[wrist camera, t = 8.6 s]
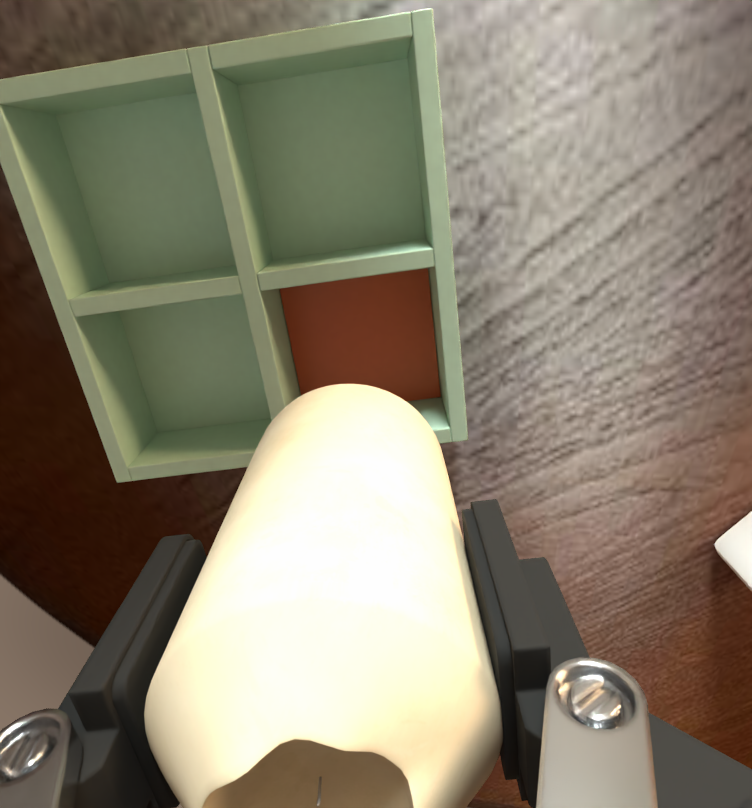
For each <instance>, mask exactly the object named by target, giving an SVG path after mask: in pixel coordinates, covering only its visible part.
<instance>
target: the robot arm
mask: <svg viewBox="0 0 752 808" xmlns="http://www.w3.org/2000/svg"><path fill="white" fill-rule="evenodd" d="M462 520H463V531H464V542H465V551H466V555H467V560H468V564H469V568H470V572H471V577H472V581H473V585H474V590H475V594H476V598H477V603H478V607H479V611H480V616H481V620H482V624H483V629H484V633H485V637H486V642H487V646H488V650H489V655H490V659H491V663H492V668H493V672H494V676H495V681H496V685H497V689H498V694H499V698H500V703H501V713H502V726H503V743H502V746H501V750H500V756H501V761H502V766H503V771H504V775H505V779H506V780H510V779H517V782H518V786H519V790H520V795H521V799H522V801H525V800H528V803H529V805H530V806H531V807H532V808H752V769H750V768H748V767H746V766H745V765H743V764H741V763H739V762H737V761H736V760H734V759H732V758H730V757H728V756H726V755H725V754H723V753H721V752H719V751H717V750H716V749H714V748H712V747H710V746H708V745H707V744H705V743H703V742H701V741H699V740H697V739H696V738H694V737H692V736H690V735H688V734H687V733H685V732H683V731H681V730H679V729H677V728H676V727H674V726H672V725H670V724H668V723H667V722H665V721H663V720H661V719H659V718H657V717H656V716H654V715H652V714H650V713H648V705H647V701H646V698H645V694H644V692H643V690H642V689H641V687H640V686H639V684H638V683H637V681H636V680H635V679H634V678H633V677H632V676H631V675H629V674H628V673H627V672H626V671H625V670H624V669H622V668H620V667H618V666H616V665H614V664H612V663H611V662H607V661H604V660H600V659H597V658H590V657H589V655H588V653H587V650H586V648H585V646H584V643H583V641H582V639H581V637H580V634H579V632H578V630H577V627H576V625H575V623H574V621H573V618H572V616H571V614H570V611H569V609H568V607H567V604H566V602H565V600H564V598H563V595H562V593H561V591H560V588H559V586H558V584H557V582H556V579H555V577H554V575H553V572H552V570H551V568H550V566H549V563H548V562H547V560H546V559H545V558H544V557H542V558H532V559H523V560H519V559H518V556H517V553H516V550H515V548H514V545H513V542H512V539H511V537H510V534H509V531H508V528H507V526H506V523H505V520H504V517H503V515H502V512H501V509H500V506H499V504H498V501H497V500H496V499H493V500H485V501H476V502H471V509H465V510H462ZM206 558H207V557H206V554H205V551H204V548H203V545H202V542H201V541H200V540H194V538H193V537H192V535H190V534H184V535H175V536H166V537H163V538H162V539H161V540H160V541H159V543H158V545H157V546H156V548H155V550H154V551H153V553H152V555H151V556H150V558H149V560H148V561H147V563H146V565H145V566H144V568H143V570H142V571H141V573H140V575H139V576H138V578H137V580H136V581H135V583H134V585H133V586H132V588H131V590H130V591H129V593H128V595H127V596H126V598H125V600H124V601H123V603H122V605H121V606H120V608H119V609H118V610H117V612H116V614H115V615H114V617H113V619H112V620H111V622H110V624H109V625H108V627H107V629H106V630H105V632H104V634H103V635H102V637H101V639H100V640H99V642H98V644H97V645H96V647H95V649H94V650H93V652H92V654H91V656H90V657H89V659H88V660H87V662H86V664H85V665H84V667H83V669H82V670H81V672H80V673H79V675H78V677H77V678H76V680H75V682H74V683H73V685H72V687H71V689H70V690H69V692H68V693H67V695H66V697H65V698H64V700H63V702H62V703H61V705H60V707H59V708H58V709H43V710H39V711H35V712H32V713H29V714H28V715H25V716H23V717H21V718H19V719H17V720H15V721H14V722H12V723H11V724H9V725H8V726H7V727H5V728H4V729H2V730H1V731H0V808H176V807H177V806H178V805H179V804H180V802H179V801H178V799H177V798H176V796H175V795H174V793H173V791H172V790H171V788H170V786H169V784H168V783H167V781H166V779H165V777H164V776H163V774H162V772H161V770H160V768H159V766H158V764H157V762H156V760H155V758H154V755H153V753H152V751H151V749H150V746H149V743H148V739H147V735H146V731H145V719H144V711H145V702H146V696H147V693H148V690H149V687H150V683H151V680H152V678H153V676H154V674H155V671H156V669H157V667H158V665H159V662H160V660H161V658H162V656H163V654H164V651H165V649H166V647H167V645H168V642H169V640H170V638H171V636H172V634H173V631H174V629H175V627H176V625H177V623H178V620H179V618H180V616H181V614H182V611H183V609H184V607H185V605H186V603H187V600H188V598H189V596H190V594H191V592H192V589H193V587H194V585H195V583H196V581H197V578H198V576H199V574H200V572H201V569H202V567H203V565H204V563H205V561H206Z"/></svg>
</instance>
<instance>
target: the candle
mask: <svg viewBox="0 0 752 808" xmlns="http://www.w3.org/2000/svg"><path fill="white" fill-rule="evenodd" d="M144 719H145V731H146V735H147V739H148V743H149V746H150V749H151V751H152V753H153V755H154V758H155V760H156V762H157V764H158V766H159V768H160V770H161V772H162V774H163V776H164V777H165V779H166V781H167V783H168V784H169V786H170V788H171V790H172V791H173V793H174V795H175V796H176V798H177V799H178V801H179V802H180V804H181V805H182V807H183V808H466V807H467V805H468V804H469V803H470V801H471V800H472V799H473V797H474V796H475V795H476V793H477V792H478V791H479V790H480V788H481V787H482V785H483V784H484V782H485V781H486V780H487V778H488V777H489V775H490V774H491V772H492V770H493V768H494V766H495V764H496V762H497V760H498V757H499V753H500V750H501V746H502V743H503V726H502V713H501V703H500V698H499V694H498V689H497V685H496V681H495V676H494V672H493V668H492V663H491V659H490V655H489V650H488V646H487V642H486V637H485V633H484V629H483V624H482V620H481V616H480V611H479V607H478V603H477V598H476V594H475V590H474V585H473V581H472V577H471V572H470V568H469V564H468V560H467V555H466V551H465V546H464V541H463V537H462V533H461V528H460V524H459V520H458V516H457V511H456V507H455V503H454V498H453V494H452V490H451V486H450V481H449V477H448V473H447V469H446V465H445V461H444V458H443V454H442V451H441V447H440V444H439V442H438V440H437V437H436V435H435V433H434V432H433V430H432V429H431V427H430V426H429V424H428V423H427V421H426V420H425V419H424V418H423V416H422V415H421V414H420V413H419V412H418V411H417V410H416V409H415V408H414V407H413V406H411V405H410V404H409V403H407V402H406V401H405V400H403V399H402V398H400V397H398V396H396V395H394V394H392V393H390V392H388V391H385V390H382V389H380V388H376V387H372V386H368V385H361V384H337V385H330V386H325V387H322V388H318V389H315V390H312V391H310V392H308V393H305V394H303V395H302V396H300V397H298V398H297V399H295V400H293V401H292V402H291V403H290V404H288V405H287V406H286V407H285V408H284V409H283V410H282V411H281V412H280V413H279V414H278V415H277V416H276V417H275V418H274V419H273V420H272V422H271V423H270V424H269V426H268V427H267V429H266V431H265V433H264V434H263V436H262V438H261V440H260V442H259V444H258V446H257V448H256V450H255V452H254V455H253V457H252V459H251V461H250V463H249V466H248V468H247V470H246V472H245V474H244V477H243V479H242V481H241V483H240V485H239V488H238V490H237V492H236V494H235V497H234V499H233V501H232V503H231V505H230V508H229V510H228V512H227V514H226V516H225V519H224V521H223V523H222V525H221V527H220V530H219V532H218V534H217V536H216V539H215V541H214V543H213V545H212V547H211V550H210V552H209V554H208V556H207V558H206V561H205V563H204V565H203V567H202V569H201V572H200V574H199V576H198V578H197V581H196V583H195V585H194V587H193V589H192V592H191V594H190V596H189V598H188V600H187V603H186V605H185V607H184V609H183V611H182V614H181V616H180V618H179V620H178V623H177V625H176V627H175V629H174V631H173V634H172V636H171V638H170V640H169V642H168V645H167V647H166V649H165V651H164V654H163V656H162V658H161V660H160V662H159V665H158V667H157V669H156V671H155V674H154V676H153V678H152V680H151V683H150V687H149V690H148V693H147V696H146V702H145V711H144Z"/></svg>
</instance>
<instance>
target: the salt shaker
mask: <svg viewBox="0 0 752 808" xmlns="http://www.w3.org/2000/svg"><path fill="white" fill-rule="evenodd" d="M714 545H715V548H716V550H717V553H718V554H719V556H720V557H721V558H722V559H723V560H724V561H725V562H726V563H727V564H728V566H729V567H730V568H731V569H732V570H733V571H734V572H735V573H736V575H737V576H738V577H739V578H740V579H741V580H742V581H743V582H744V583H745V585H746V586H747V587H748V588H749V589H750V590H751V591H752V511H751V512H750V513H749V514H748V515H747V516H745V517H744V518H743V519H742V520H740V521H739V522H738V523H737V524H735V525H734V526H733V527H732V528H731V529H729V530H728V531H727V532H726V533H724V534H723V535H722V536H721V537H720V538H718V539H717V541H716V542H715V544H714Z"/></svg>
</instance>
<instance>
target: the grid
mask: <svg viewBox="0 0 752 808" xmlns="http://www.w3.org/2000/svg"><path fill="white" fill-rule="evenodd" d="M0 163H1V166H2V169H3V172H4V174H5V177H6V180H7V183H8V185H9V188H10V191H11V194H12V196H13V199H14V202H15V204H16V207H17V210H18V213H19V215H20V218H21V221H22V224H23V226H24V229H25V232H26V235H27V237H28V240H29V243H30V246H31V248H32V251H33V254H34V257H35V259H36V262H37V265H38V268H39V270H40V273H41V276H42V279H43V281H44V284H45V287H46V290H47V292H48V295H49V298H50V300H51V303H52V306H53V309H54V311H55V314H56V317H57V320H58V322H59V325H60V328H61V331H62V333H63V336H64V339H65V342H66V344H67V347H68V350H69V353H70V355H71V358H72V361H73V364H74V366H75V369H76V372H77V375H78V377H79V380H80V383H81V386H82V388H83V391H84V394H85V397H86V399H87V402H88V405H89V407H90V410H91V413H92V416H93V418H94V421H95V424H96V427H97V429H98V432H99V435H100V438H101V440H102V443H103V446H104V449H105V451H106V454H107V457H108V460H109V462H110V465H111V468H112V471H113V473H114V476H115V479H116V482H117V483H119V482H128V481H132V480H133V481H135V480H144V479H152V478H160V477H168V476H177V475H185V474H193V473H202V472H210V471H218V470H227V469H235V468H243V467H248V466H249V463H250V461H251V459H252V457H253V455H254V452H255V450H256V448H257V446H258V444H259V442H260V440H261V438H262V436H263V434H264V433H265V431H266V429H267V427H268V426H269V424H270V423H271V422H272V420H273V419H274V418H275V417H276V416H277V415H278V414H279V413H280V412H281V411H282V410H283V409H284V408H285V407H286V406H287V405H288V404H290V403H291V402H292V401H293V400H295V399H297V398H298V397H300V396H302V395H303V394H305V393H308V392H310V391H312V390H315V389H318V388H322V387H325V386H330V385H337V384H361V385H368V386H372V387H376V388H380V389H382V390H385V391H388V392H390V393H392V394H394V395H396V396H398V397H400V398H402V399H403V400H405V401H406V402H407V403H409V404H410V405H411V406H413V407H414V408H415V409H416V410H417V411H418V412H419V413H420V414H421V415H422V416H423V418H424V419H425V420H426V421H427V423H428V424H429V426H430V427H431V429H432V430H433V432H434V433H435V435H436V437H437V440H438V442H439V444H441V443H450V442H451V441H452V442H459V441H467V440H468V431H467V418H466V406H465V394H464V382H463V370H462V358H461V346H460V334H459V322H458V309H457V297H456V285H455V273H454V261H453V249H452V237H451V225H450V213H449V201H448V188H447V176H446V164H445V152H444V140H443V128H442V116H441V104H440V92H439V79H438V67H437V55H436V43H435V31H434V19H433V10H432V8H427V9H421V10H415V11H412V12H411V14H410V12H404V13H398V14H392V15H386V16H380V17H374V18H368V19H362V20H356V21H350V22H344V23H338V24H332V25H326V26H320V27H314V28H307V29H301V30H295V31H289V32H283V33H277V34H271V35H265V36H259V37H253V38H247V39H241V40H235V41H229V42H223V43H217V44H211V45H209V46H199V47H193V48H188V49H187V50H186V49H180V50H174V51H168V52H162V53H156V54H150V55H144V56H138V57H132V58H126V59H120V60H114V61H108V62H102V63H96V64H90V65H84V66H78V67H72V68H66V69H59V70H53V71H47V72H41V73H35V74H29V75H23V76H17V77H11V78H5V79H0Z"/></svg>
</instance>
